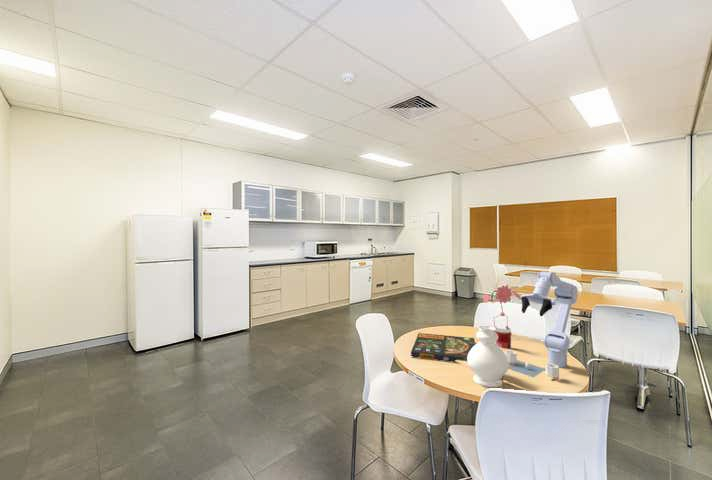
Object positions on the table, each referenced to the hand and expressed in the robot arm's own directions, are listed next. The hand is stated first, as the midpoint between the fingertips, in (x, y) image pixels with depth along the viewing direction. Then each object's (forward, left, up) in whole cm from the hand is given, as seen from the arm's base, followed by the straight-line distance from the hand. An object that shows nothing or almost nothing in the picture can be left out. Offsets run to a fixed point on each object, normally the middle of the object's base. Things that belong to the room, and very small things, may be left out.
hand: (531, 313), depth 137 cm
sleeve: (-13, +3, -32) cm, 35 cm away
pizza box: (-4, -51, -33) cm, 61 cm away
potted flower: (-54, -40, -32) cm, 74 cm away
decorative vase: (+13, -14, -32) cm, 38 cm away
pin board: (-11, -11, -32) cm, 36 cm away
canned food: (-33, -30, -32) cm, 55 cm away
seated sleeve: (-11, -15, -31) cm, 36 cm away
